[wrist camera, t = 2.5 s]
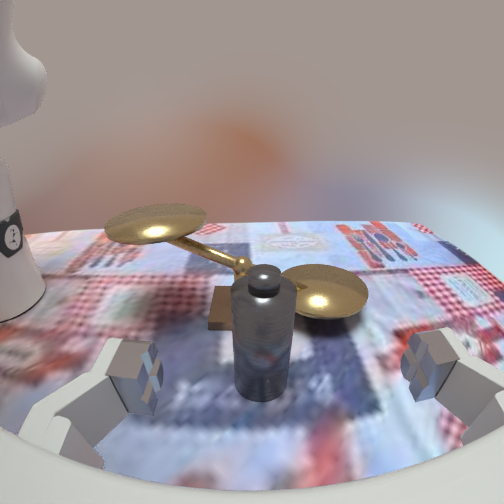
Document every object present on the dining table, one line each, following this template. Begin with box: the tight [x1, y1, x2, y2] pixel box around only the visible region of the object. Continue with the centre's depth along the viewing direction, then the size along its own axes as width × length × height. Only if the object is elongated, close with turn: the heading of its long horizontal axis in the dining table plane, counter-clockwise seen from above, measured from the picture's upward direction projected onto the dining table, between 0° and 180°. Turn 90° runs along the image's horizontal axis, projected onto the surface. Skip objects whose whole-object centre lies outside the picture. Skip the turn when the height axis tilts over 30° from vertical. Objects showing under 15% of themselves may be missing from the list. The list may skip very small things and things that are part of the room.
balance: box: [105, 204, 368, 330], centre depth 35 cm, size 32×12×13 cm, turn 90°
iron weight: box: [231, 264, 297, 402], centre depth 24 cm, size 5×5×12 cm
